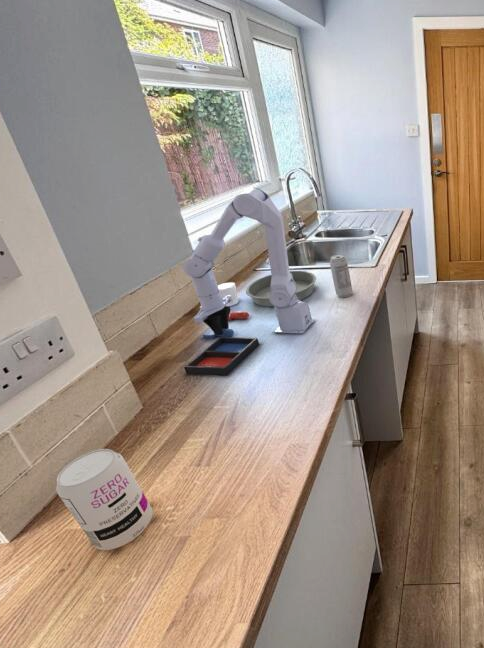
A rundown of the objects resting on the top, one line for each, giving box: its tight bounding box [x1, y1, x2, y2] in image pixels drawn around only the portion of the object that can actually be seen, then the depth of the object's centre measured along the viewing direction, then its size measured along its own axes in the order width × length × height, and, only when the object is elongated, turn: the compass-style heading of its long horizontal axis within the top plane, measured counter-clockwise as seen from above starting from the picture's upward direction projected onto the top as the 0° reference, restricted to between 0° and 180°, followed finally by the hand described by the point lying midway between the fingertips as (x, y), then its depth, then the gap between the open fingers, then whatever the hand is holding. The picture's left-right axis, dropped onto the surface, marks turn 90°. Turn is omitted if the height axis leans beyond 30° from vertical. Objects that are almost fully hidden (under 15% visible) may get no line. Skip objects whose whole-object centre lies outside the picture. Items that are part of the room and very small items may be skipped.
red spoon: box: [229, 311, 250, 322], centre depth 137 cm, size 9×3×2 cm, turn 83°
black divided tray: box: [183, 336, 260, 377], centre depth 114 cm, size 12×15×2 cm
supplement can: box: [55, 448, 154, 551], centre depth 66 cm, size 8×8×15 cm
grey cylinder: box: [329, 253, 353, 298], centre depth 147 cm, size 6×6×15 cm
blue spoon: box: [202, 328, 235, 339], centre depth 126 cm, size 9×3×2 cm, turn 83°
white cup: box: [217, 281, 239, 307], centre depth 147 cm, size 7×7×7 cm
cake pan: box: [245, 270, 317, 307], centre depth 152 cm, size 25×25×4 cm
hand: (222, 331), depth 126 cm, fingers closed on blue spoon, 2 cm apart
